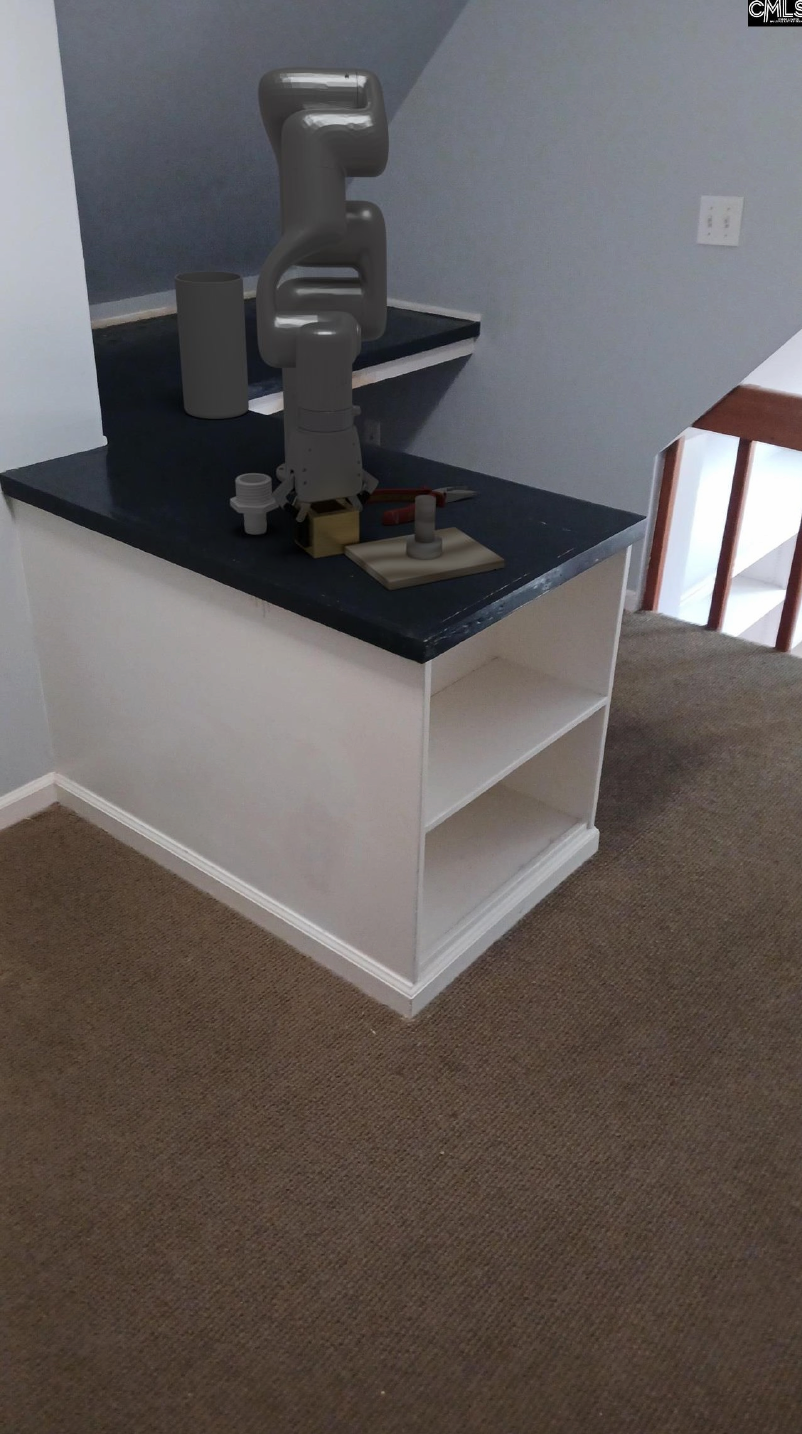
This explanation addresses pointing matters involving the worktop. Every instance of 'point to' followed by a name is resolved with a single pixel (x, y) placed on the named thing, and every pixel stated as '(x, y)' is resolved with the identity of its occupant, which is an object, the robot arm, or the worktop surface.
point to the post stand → (423, 553)
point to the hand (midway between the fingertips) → (326, 539)
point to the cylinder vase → (212, 343)
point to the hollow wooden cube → (331, 527)
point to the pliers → (409, 496)
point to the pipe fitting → (254, 501)
